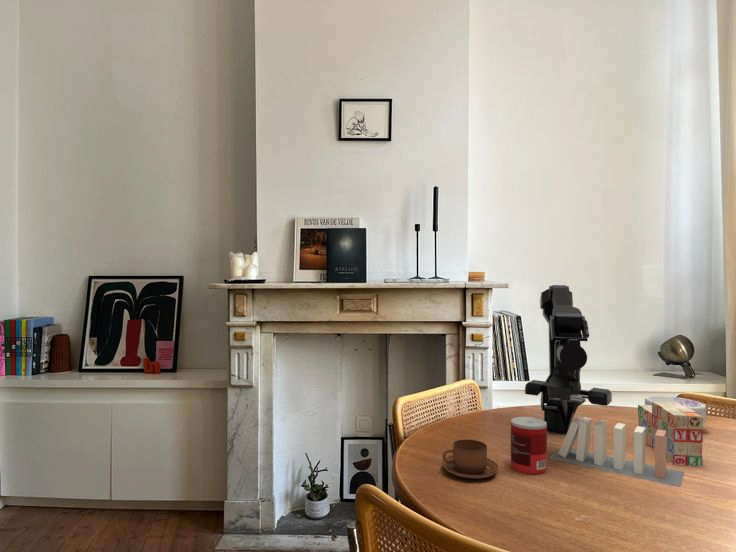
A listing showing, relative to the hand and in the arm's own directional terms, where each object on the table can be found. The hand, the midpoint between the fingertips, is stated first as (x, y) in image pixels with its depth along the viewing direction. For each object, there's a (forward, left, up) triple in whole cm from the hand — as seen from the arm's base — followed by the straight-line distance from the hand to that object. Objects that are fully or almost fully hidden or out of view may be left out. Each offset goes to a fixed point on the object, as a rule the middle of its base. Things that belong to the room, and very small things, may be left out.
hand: (566, 427), depth 117 cm
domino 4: (+11, 0, -6) cm, 13 cm away
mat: (+10, 0, -7) cm, 13 cm away
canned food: (-5, -14, -7) cm, 16 cm away
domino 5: (+15, 0, -6) cm, 17 cm away
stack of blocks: (+19, +20, -7) cm, 28 cm away
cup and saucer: (-15, -23, -8) cm, 28 cm away
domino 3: (+7, 0, -6) cm, 10 cm away
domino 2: (+3, 0, -6) cm, 7 cm away
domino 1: (-1, 0, -6) cm, 6 cm away
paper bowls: (+18, +45, -7) cm, 49 cm away
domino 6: (+19, 0, -6) cm, 20 cm away
